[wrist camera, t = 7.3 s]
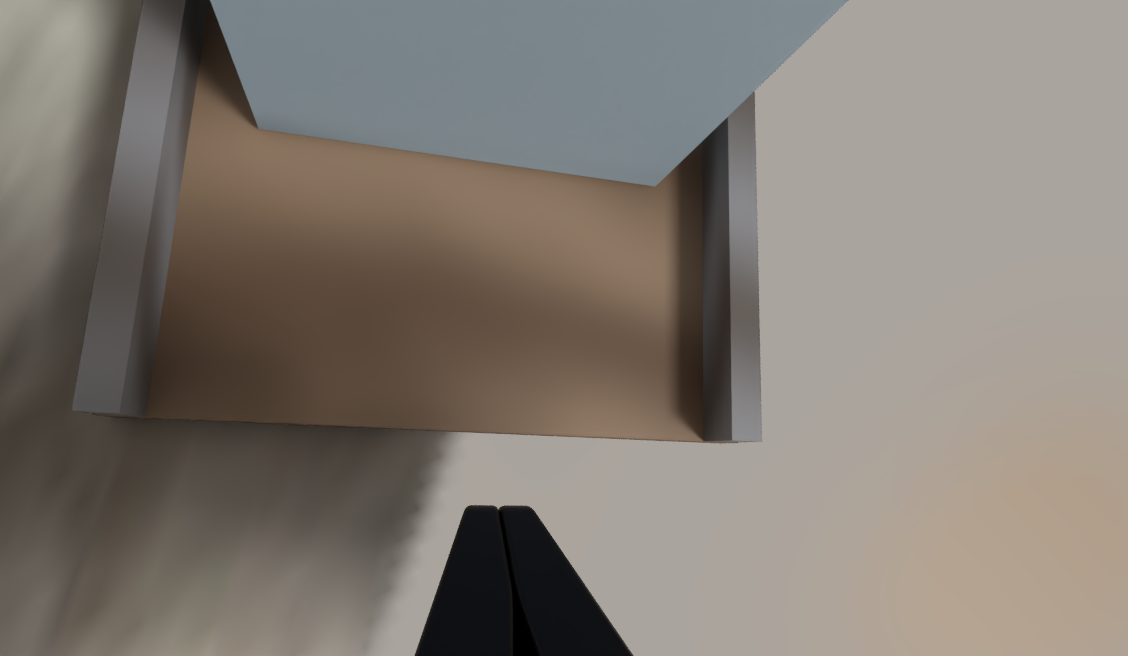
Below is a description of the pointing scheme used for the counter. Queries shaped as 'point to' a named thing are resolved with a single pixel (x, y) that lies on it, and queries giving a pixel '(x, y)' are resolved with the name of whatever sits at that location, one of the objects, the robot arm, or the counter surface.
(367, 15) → the box
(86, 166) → the counter surface
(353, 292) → the brown wooden tray
